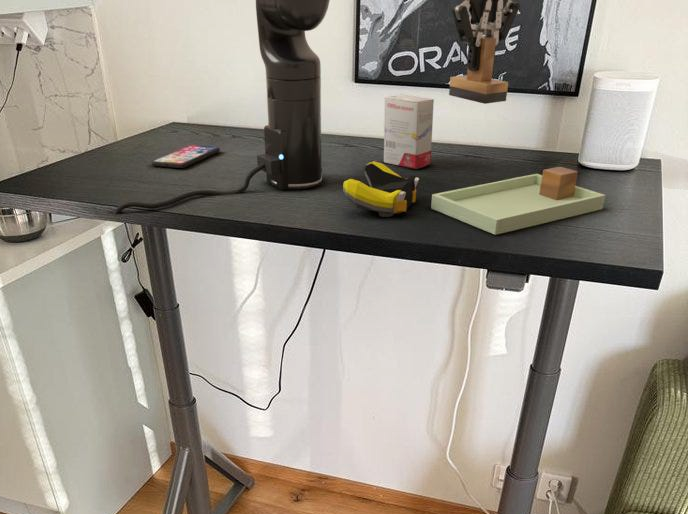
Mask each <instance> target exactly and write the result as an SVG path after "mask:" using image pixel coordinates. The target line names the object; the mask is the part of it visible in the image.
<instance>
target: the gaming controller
mask: <svg viewBox="0 0 688 514" xmlns="http://www.w3.org/2000/svg"><path fill="white" fill-rule="evenodd" d="M364 175H365V178H366V180H367V182H368V184H369V185H367V184H365V183H364V182H362V181H360V180H356V179H353V178H349V179H347V180H344V182H343V185H342V192H343V194H344V195H345V196H346V198H347V199H348V201H349V202H351V204H353V205H354V206H355V207H356V208H357V209H361V210H365V211H372V212H377V213H378V215H379V217H383V218H391V217H393V216H395V214H402V213H403V212H407V210H408V208H409V207H410V206H411V205H412V204H413V203H416V201H417V189H416V188H417V185H418V183H419V180H420V178H419V177H416V175H412V176H409V177H406V178H405V177H402V176H401V175H399V174H398V173H396V172H394V171H393V170H392V169H390V168H389V167H388V166H386V165H385V163H381V162H378V161H370V162H369V163H367V164H365V167H364Z"/></svg>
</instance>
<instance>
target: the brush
mask: <svg viewBox="0 0 688 514" xmlns="http://www.w3.org/2000/svg"><path fill="white" fill-rule="evenodd" d="M495 45H496V38H492V37H485V36H484V35H483V37H482V42H481V45H480V46H479V47H481V55H480V64H479V70H478V71H470V70H469V69H468V68H467V73H466V74H464V75H457V76H450V78H449V79H450V80H449V89H448V90H449V91H448V96H451V97H454V98H459V99H463V100H468V101H472V102H476V103H479V104H484V105H486V104H493V103H501V102H506V101H507V96H508V88H509V81H505V80H499V79H494V78H493V69H494V64H493V62H494V63H495V58H494V54H495V55H496V50H495ZM496 46H497V45H496Z"/></svg>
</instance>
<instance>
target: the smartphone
mask: <svg viewBox="0 0 688 514" xmlns="http://www.w3.org/2000/svg"><path fill="white" fill-rule="evenodd" d="M220 151H221V149H220V147H219V146H211V145H210V146H209V145H196V144H189V145H185V146H184V147H181V148H178V149H177V150H174V151H172V152H169V153H167V154H165V155H162V156H159V157H158V158H155V159H153V160H151V166H153V167H164V168H175V169H185V168H187V167H188V166H192V165H193V164H195V163H197V162H200V161H202V160H204V159H207V158H209V157H211V156H213V155H215V154H217V153H219V152H220Z"/></svg>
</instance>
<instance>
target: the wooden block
mask: <svg viewBox="0 0 688 514" xmlns="http://www.w3.org/2000/svg"><path fill="white" fill-rule="evenodd" d="M578 173H579V171H577V170H573V169H571V168H567V167H563V166H555V167H551V168H546V169H543V170H542V174H541V175H542V180H541V186H540V192H539V195H542V196H545V197H548V198H551V199H554V200H560V199H564V198H569V197H573V195H574V190H575V186H577V185H576V184H577V180H578V179H577V178H578Z"/></svg>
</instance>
